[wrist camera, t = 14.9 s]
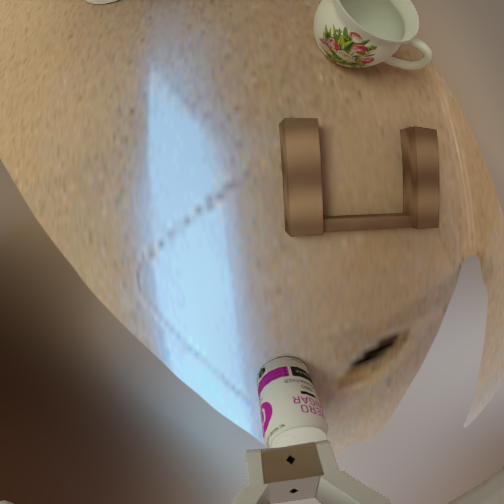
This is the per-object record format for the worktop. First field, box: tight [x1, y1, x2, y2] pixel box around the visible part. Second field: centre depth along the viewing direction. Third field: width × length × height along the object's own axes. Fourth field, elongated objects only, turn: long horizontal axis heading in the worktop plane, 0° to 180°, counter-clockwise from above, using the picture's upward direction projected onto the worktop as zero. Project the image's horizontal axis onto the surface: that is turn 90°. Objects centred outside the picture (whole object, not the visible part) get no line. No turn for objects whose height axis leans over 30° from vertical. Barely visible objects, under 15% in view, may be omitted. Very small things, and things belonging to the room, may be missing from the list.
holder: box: [279, 118, 439, 237], centre depth 35 cm, size 14×22×4 cm, turn 94°
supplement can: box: [257, 357, 328, 448], centre depth 37 cm, size 8×8×15 cm
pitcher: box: [313, 0, 432, 70], centre depth 26 cm, size 11×18×14 cm, turn 68°
